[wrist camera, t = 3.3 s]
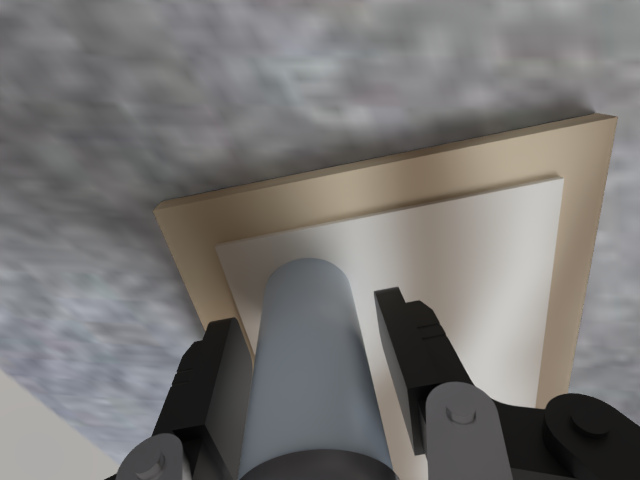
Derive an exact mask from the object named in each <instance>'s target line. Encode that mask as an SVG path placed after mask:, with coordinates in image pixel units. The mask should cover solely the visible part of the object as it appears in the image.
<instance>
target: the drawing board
mask: <svg viewBox="0 0 640 480" xmlns="http://www.w3.org/2000/svg"><path fill="white" fill-rule="evenodd" d="M617 119H618V117H616V116H610V115H605V114H599V113H596V114H591V115H586V116H581V117H576V118H571V119H566V120H561V121H556V122H551V123H547V124H542V125H537V126H532V127H527V128H522V129H517V130H512V131H507V132H502V133H497V134H492V135H487V136H482V137H477V138H472V139H468V140H463V141H458V142H453V143H448V144H443V145H438V146H433V147H428V148H423V149H418V150H413V151H408V152H403V153H398V154H393V155H389V156H384V157H379V158H374V159H369V160H364V161H359V162H354V163H349V164H344V165H339V166H334V167H329V168H324V169H319V170H315V171H310V172H305V173H300V174H295V175H290V176H285V177H280V178H275V179H270V180H265V181H260V182H255V183H250V184H245V185H240V186H236V187H231V188H226V189H221V190H216V191H211V192H206V193H201V194H196V195H191V196H186V197H181V198H176V199H171V200H166V201H161V203H160V204H159V205H158V206H157V207H156V208H155V209H154V210H153V213H154V215H155V217H156V220H157V222H158V224H159V227H160V229H161V231H162V234H163V236H164V238H165V240H166V243H167V245H168V247H169V250H170V252H171V254H172V256H173V259H174V261H175V263H176V266H177V268H178V270H179V272H180V275H181V277H182V279H183V282H184V284H185V286H186V288H187V291H188V293H189V295H190V298H191V300H192V302H193V305H194V307H195V309H196V311H197V314H198V316H199V318H200V321H201V323H202V325H203V327H204V330H205V332H206V329H207V326H208V324H209V322H211V321H216V320H222V319H227V318H232V317H235V318H236V319H237V320H238V323H239V325H240V328H241V331H242V333H243V336H244V339H245V341H246V344H247V347H248V349H249V352H250V355H251V359H252V367H253V369H254V362H255V355H256V348H257V341H258V334H259V327H260V320H261V313H262V306H263V299H264V292H265V287H266V284H267V282H268V280H269V278H270V276H271V275H272V274H273V273H274V272H275V271H276V270H277V269H278V268H279V267H281V266H282V265H284V264H286V263H288V262H290V261H293V260H297V259H302V258H316V259H321V260H325V261H328V262H330V263H332V264H334V265H335V266H337V267H338V268H339V269H340V270H342V271H343V273H344V274H345V275H346V277H347V278H348V280H349V282H350V286H351V290H352V294H353V298H354V303H355V307H356V311H357V316H358V320H359V324H360V329H361V333H362V337H363V341H364V346H365V350H366V354H367V359H368V363H369V367H370V372H371V376H372V380H373V384H374V389H375V393H376V397H377V402H378V406H379V410H380V415H381V419H382V423H383V428H384V432H385V436H386V440H387V445H388V449H389V453H390V458H391V462H392V466H393V471H394V472H395V473H396V475H397V476H398V477H399V479H400V480H428V462H427V459H426V456H425V454H423V455H417V456H415V455H414V452H413V449H412V445H411V442H410V438H409V435H408V432H407V428H406V425H405V422H404V418H403V415H402V411H401V408H400V405H399V401H398V398H397V395H396V391H395V388H394V384H393V381H392V378H391V374H390V371H389V367H388V364H387V361H386V357H385V354H384V351H383V347H382V343H381V338H380V333H379V327H378V320H377V313H376V306H375V299H374V291H377V290H382V289H387V288H392V287H399V289H400V291H401V293H402V296H403V298H404V300H405V302H406V303H407V302H412V301H417V300H420V301H422V302H423V303H424V304H426V305H427V306H428V307H430V308H431V309H432V310H433V311H434V313H435V315H436V316H437V318H438V320H439V322H440V325H441V326H442V327H443V329H444V331H445V333H446V336H447V337H448V339H449V340H450V342H451V344H452V346H453V348H454V350H455V351H456V353H457V355H458V357H459V359H460V361H461V363H462V364H463V366H464V368H465V370H466V372H467V374H468V375H469V377H470V379H471V381H472V382H473V384H474V385H475V386H476V387H477V388H479V389H481V390H482V391H484V392H485V393H486V394H487V395H488V396H489V397H490V398H492V399H494V400H496V401H498V402H501V403H504V404H508V405H513V406H521V407H530V408H538V409H545V408H546V405H547V403H548V402H549V401H550V400H551V399H553V398H554V397H556V396H558V395H562V394H567V393H568V387H569V382H570V376H571V371H572V365H573V360H574V354H575V349H576V344H577V338H578V333H579V327H580V322H581V316H582V311H583V305H584V300H585V294H586V289H587V283H588V278H589V272H590V267H591V261H592V256H593V251H594V245H595V240H596V234H597V229H598V223H599V218H600V212H601V207H602V201H603V196H604V190H605V185H606V179H607V174H608V168H609V163H610V157H611V152H612V147H613V141H614V136H615V130H616V125H617ZM252 376H253V374H252ZM251 382H252V381H251ZM250 389H251V388H250ZM249 396H250V395H249ZM248 403H249V402H248ZM247 410H248V409H247ZM246 417H247V416H246ZM245 424H246V423H245Z"/></svg>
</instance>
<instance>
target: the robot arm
mask: <svg viewBox="0 0 640 480" xmlns="http://www.w3.org/2000/svg"><path fill="white" fill-rule="evenodd" d="M374 299H375V306H376V313H377V320H378V327H379V333H380V338H381V343H382V347H383V351H384V354H385V357H386V361H387V364H388V367H389V371H390V374H391V378H392V381H393V384H394V388H395V391H396V395H397V398H398V401H399V405H400V408H401V411H402V415H403V418H404V422H405V425H406V428H407V432H408V435H409V438H410V442H411V445H412V449H413V452H414V455H415V456H417V455H423V454H425V456H426V459H427V462H428V480H640V427H639V426H638V425H637V424H635V423H634V422H633V421H631V420H630V419H629V418H627V417H626V416H624V415H623V414H622V413H620V412H619V411H618V410H616V409H615V408H613V407H612V406H610V405H609V404H607V403H605V402H603V401H601V400H599V399H596V398H594V397H590V396H587V395H582V394H574V393H569V394H562V395H558V396H556V397H554V398H553V399H551V400H550V401H549V402H548V403H547V405H546V408H545V409H538V408H530V407H521V406H513V405H508V404H504V403H501V402H498V401H496V400H494V399H492V398H490V397H489V396H488V395H487V394H486V393H485V392H484V391H482V390H481V389H479V388H477V387H476V386H475V385H474V384H473V382H472V381H471V379H470V377H469V375H468V374H467V372H466V370H465V368H464V366H463V364H462V363H461V361H460V359H459V357H458V355H457V353H456V351H455V350H454V348H453V346H452V344H451V342H450V340H449V339H448V337H447V336H446V333H445V331H444V329H443V327H442V326H441V325H440V322H439V320H438V318H437V316H436V315H435V313H434V311H433V310H432V309H431V308H430V307H428V306H427V305H426V304H424V303H423V302H422V301H420V300H417V301H412V302H407V303H406V302H405V300H404V298H403V296H402V293H401V291H400V289H399V287H392V288H387V289H382V290H377V291H374ZM252 374H253V367H252V359H251V355H250V352H249V349H248V347H247V344H246V341H245V339H244V336H243V333H242V331H241V328H240V325H239V323H238V320H237V319H236V318H235V317H232V318H227V319H222V320H216V321H211V322H209V324H208V326H207V329H206V332H205V335H204V338H203V340H202V341H197V342H194V343H193V344H192V345H191V347H190V348H189V349H188V350H187V351H186V353H185V354H184V355H183V356H182V359H181V362H180V364H179V367H178V369H177V374H175V377H174V380H173V382H172V387H170V390H169V392H168V395H167V398H166V400H165V403H164V405H163V408H162V410H161V413H160V416H159V418H158V421H157V423H156V426H155V429H154V431H153V434H152V436H151V437H150V438H148V439H146V440H144V441H143V442H141V443H140V444H139V445H137V446H136V447H135V448H134V449H133V450H132V451H131V452H130V453H129V454H128V455H127V456H126V458H125V459H124V461H123V462H122V464H121V465H120V467H119V469H118V472H117V474H115V475H113V476H111V477H109V478H107V479H105V480H237V479H238V472H239V465H240V458H241V451H242V444H243V437H244V430H245V423H246V416H247V409H248V402H249V395H250V388H251V381H252Z"/></svg>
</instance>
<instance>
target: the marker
mask: <svg viewBox="0 0 640 480" xmlns="http://www.w3.org/2000/svg"><path fill="white" fill-rule="evenodd" d="M238 480H400V479H399V477H398V476H397V475H396V473H395V472H394V471H393V466H392V462H391V458H390V453H389V449H388V445H387V440H386V436H385V432H384V428H383V423H382V419H381V415H380V410H379V406H378V402H377V397H376V393H375V389H374V384H373V380H372V376H371V372H370V367H369V363H368V359H367V354H366V350H365V346H364V341H363V337H362V333H361V329H360V324H359V320H358V316H357V311H356V307H355V303H354V298H353V294H352V290H351V286H350V282H349V280H348V278H347V277H346V275H345V274H344V273H343V271H342V270H340V269H339V268H338V267H337V266H335V265H334V264H332V263H330V262H328V261H325V260H321V259H316V258H302V259H297V260H293V261H290V262H288V263H286V264H284V265H282V266H281V267H279V268H278V269H277V270H276V271H275V272H274V273H273V274H272V275H271V276H270V278H269V280H268V282H267V284H266V287H265V292H264V299H263V306H262V313H261V320H260V327H259V334H258V341H257V348H256V355H255V362H254V369H253V376H252V382H251V389H250V396H249V403H248V410H247V417H246V424H245V431H244V438H243V445H242V452H241V459H240V466H239V473H238Z"/></svg>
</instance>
